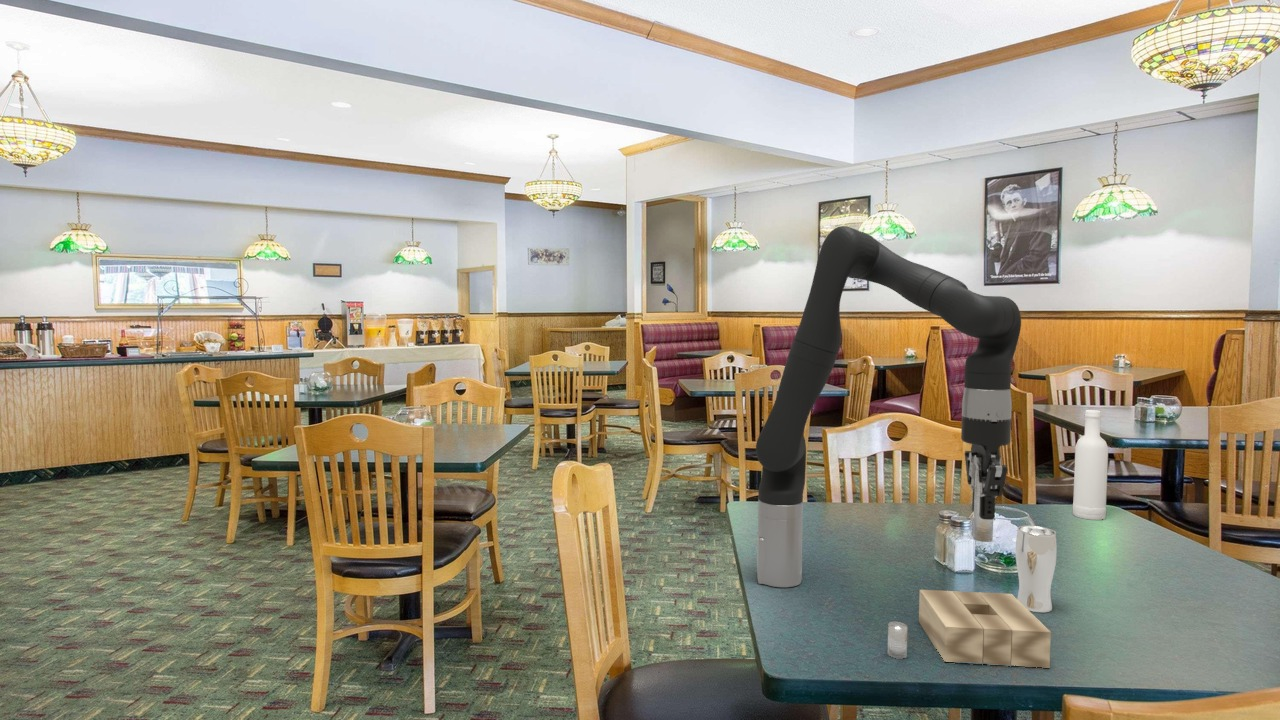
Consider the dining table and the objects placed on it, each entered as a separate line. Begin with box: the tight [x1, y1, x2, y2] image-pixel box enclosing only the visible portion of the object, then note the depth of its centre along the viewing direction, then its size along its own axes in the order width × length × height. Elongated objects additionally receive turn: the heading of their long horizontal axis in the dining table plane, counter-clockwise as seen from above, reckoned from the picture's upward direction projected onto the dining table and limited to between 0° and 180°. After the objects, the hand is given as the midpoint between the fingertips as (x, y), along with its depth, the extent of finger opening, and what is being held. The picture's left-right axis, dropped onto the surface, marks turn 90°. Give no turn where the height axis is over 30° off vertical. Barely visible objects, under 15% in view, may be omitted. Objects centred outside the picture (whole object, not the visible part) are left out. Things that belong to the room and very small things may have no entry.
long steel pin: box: [972, 465, 994, 543], centre depth 122 cm, size 3×3×14 cm
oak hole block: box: [918, 589, 1052, 669], centre depth 124 cm, size 16×16×6 cm
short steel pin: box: [887, 621, 908, 660], centre depth 120 cm, size 3×3×5 cm
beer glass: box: [1015, 525, 1058, 614], centre depth 139 cm, size 7×7×15 cm
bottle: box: [1072, 409, 1109, 521], centre depth 202 cm, size 8×8×30 cm
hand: (983, 515), depth 123 cm, fingers closed on long steel pin, 3 cm apart
